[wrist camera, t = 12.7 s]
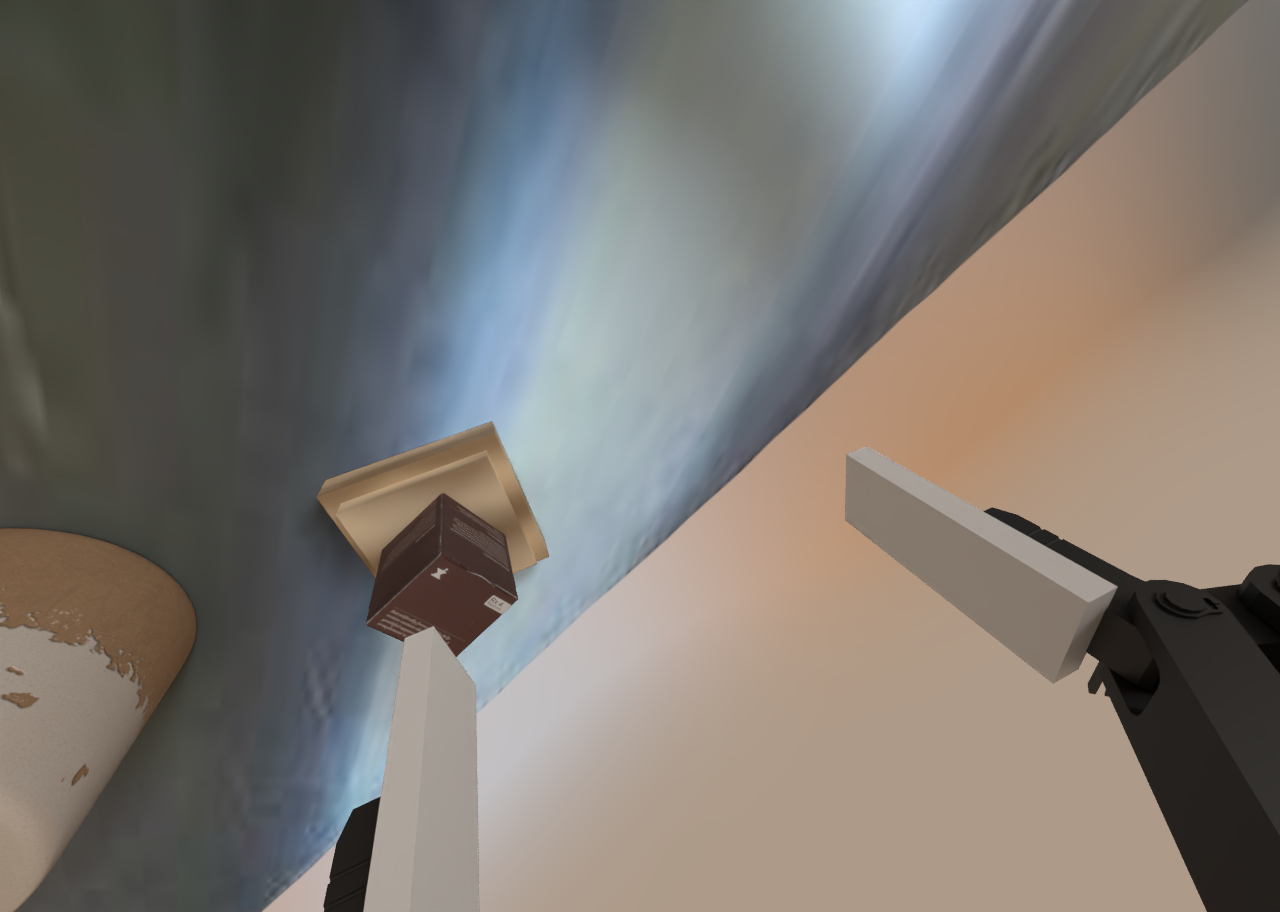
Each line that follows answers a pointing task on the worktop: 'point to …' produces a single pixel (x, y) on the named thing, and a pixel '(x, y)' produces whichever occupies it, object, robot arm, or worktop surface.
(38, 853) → the vase
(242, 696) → the worktop surface
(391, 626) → the box
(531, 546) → the plinth
